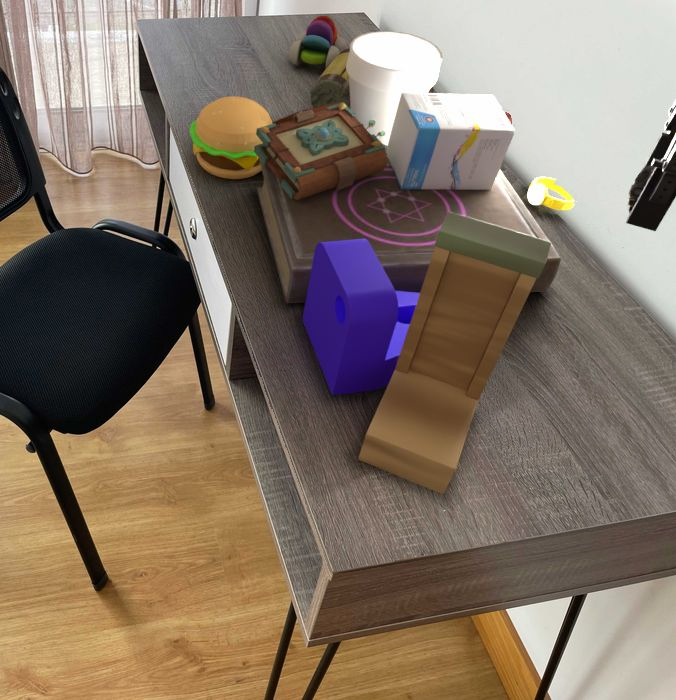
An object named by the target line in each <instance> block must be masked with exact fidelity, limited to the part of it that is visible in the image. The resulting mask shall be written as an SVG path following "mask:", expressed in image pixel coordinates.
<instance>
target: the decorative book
mask: <svg viewBox="0 0 676 700" xmlns="http://www.w3.org/2000/svg"><path fill="white" fill-rule="evenodd" d="M299 111H300V112H299V113H297V114H294V116H293V120H290V121H287V122H284V123H280V124H277V125H276V124H275V123H273V124H270V125H267V126H264V127H260V128H257V132H256V135H257V136H258V137H259V139H260V140H261V141H262V142H263V143H262V144H259V145H256V146H255V147H254V152H255V154H256V155H257V156H258V157H259V159H260V160H261V161H262V162H263V164H264V165H266V164H267V166H268V167H269V168H270V169H271V171H272V172H273V173H274V174H275V176H276V177H277V178H278V180H279V181H280V182H281V187H282V188H283V189H284V190H285V192H286V193H287V194H288V196H289V197H290V198H291V199H296V200H299V199H302V198H305V197H308V196H311V195H314V194H317V193H320V192H322V191H325V190H328V189H331V190H334V191H337V190H340V189H343V188H346V187H349V186H351V185H353V182H354V180H357V179H360V178H363V177H366V176H369V175H372V174H375V173H378V172H380V171H383V170H384V169H385V167H386V165H387V155H386V152H385V146H384V145H383V144H382V143H381V142H380V141H379V140H378V139H377V136H384V135H385V134H386V133H385V132H384V131H381V132H379V133H378V134H377V135H376V136H375V135H374V134H373V135H371V134H370V133H369V132H368V131H367V128H369V127H373V126H374V125H375V123H376V122H375V121H374V120H369V126H368V127H367V128H366V129H365V128H364V127H363V124H361V123H360V122H359V121H358V120H357V119H356V118H355V114H354V113H353V112H352V111H351V108H350V106H349V107H348V106H347V105H346V104H345V103H344V102H342V103H339V104H336V105H333V106H329V107H327V109H326V110H323V111H320V112H316V113H314V112H313V111H312V110H307V111H304V112H302V110H299Z"/></svg>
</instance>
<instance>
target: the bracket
mask: <svg viewBox="0 0 676 700" xmlns="http://www.w3.org/2000/svg"><path fill="white" fill-rule="evenodd" d="M419 295H420V293H415V292H404V291H395V289H394V287H393V285H392V283H391V282H390V280H389V278H388V276H387V274H386V272H385V271H384V269H383V267H382V265H381V263H380V261H379V260H378V258H377V256H376V254H375V252H374V250H373V248H372V247H371V245H370V243H369V241H368V240H367V239H354V240H343V241H332V242H321V243H318V244H317V245H316V248H315V252H314V258H313V264H312V269H311V275H310V281H309V286H308V292H307V297H306V302H304V309H303V316H302V322H303V325H304V328H305V330H306V332H307V335H308V338H309V339H310V344H311V345H312V348H313V350H314V353H315V356H316V357H317V360H318V363H319V365H320V368H321V370H322V373H323V376H324V378H325V381H326V383H327V385H328V388H329V391H330V393H331V395H332V396H338V395H346V394H354V393H361V392H371V391H376V390H379V389H382V388H383V387H387V386H388V384H389V382H390V379H391V377H392V375H393V373H394V371H395V368H396V365H397V362H398V359H399V356H400V353H401V349H402V346H403V343H404V340H405V337H406V334H407V331H408V328H409V325H410V322H411V319H412V316H413V313H414V310H415V307H416V304H417V301H418V298H419Z"/></svg>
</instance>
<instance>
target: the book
mask: <svg viewBox="0 0 676 700" xmlns="http://www.w3.org/2000/svg"><path fill="white" fill-rule="evenodd" d="M260 165H261V169H262V171H261V172H262V176H263V184H262V187H257V188H256V192H257V197H258V200H259V204H260V209H261V213H262V216H263V218H264V224H265V227H266V231H267V235H268V239H269V242H270V246H271V250H272V254H273V257H274V258H273V259H274V262H275V265H276V270H277V273H278V277H279V281H280V285H281V290H282V293H283V296H284V300H285V303H286V304H299V303H300V304H301V303H306V297H307V292H308V286H309V281H310V275H311V269H312V264H313V258H314V252H315V248H316V245H317V244H318V243H321V242H332V241H343V240H354V239H367V240H368V241H369V243H370V245H371V247H372V248H373V250H374V252H375V254H376V256H377V258H378V260H379V261H380V263H381V265H382V267H383V269H384V271H385V272H386V274H387V276H388V278H389V280H390V282H391V283H392V285H393V287H394V289H395V291H404V292H415V293H420V292H421V289H422V286H423V283H424V280H425V277H426V274H427V271H428V268H429V265H430V262H431V258H432V255H433V252H434V249H435V246H434V245H435V242H436V239H437V235H438V232H439V230H440V228H441V226H442V224H443V222H444V220H445V217H446V215H447V213H448V212H453V213H456V214H459V215H463V216H466V217H469V218H473V219H476V220H479V221H483V222H486V223H489V224H493V225H496V226H499V227H503V228H506V229H510V230H513V231H516V232H520V233H523V234H526V235H530V236H533V237H536V238H540V239H543V240H546V241H550V239H549V238H548V237H547V235H546V234H545V233H544V231H543V229H542V228H541V227H540V225H539V223H538V222H537V221H536V219H535V218H534V216H533V214H531V212H530V211H529V209H528V208H527V206H526V205H525V203H524V202H523V200H522V199H521V198H520V196H519V194H518V193H517V191H516V190H515V189H514V187H513V186H512V185H511V183H510V181H509V180H508V179H507V177H506V176H505V174H504V173H503V171H502V170H501V168H500V169H499V172H498V174H497V176H496V179H495V181H494V184H493V186H492V189H491V190H446V189H401V188H400V186H399V183H398V180H397V178H396V176H395V173H394V170H393V168H392V166H391V163H390V160H389V158H388V156H387V165H386V167H385V169H384V170H383V171H380V172H378V173H375V174H372V175H369V176H366V177H363V178H360V179H357V180H354V182H353V185H351V186H349V187H346V188H343V189H340V190H337V191H334V190H331V189H328V190H325V191H322V192H320V193H317V194H314V195H311V196H308V197H305V198H302V199H299V200H296V199H291V198H290V197H289V196H288V194H287V193H286V192H285V190H284V189H283V188H282V187H281V182H280V181H279V180H278V178H277V177H276V176H275V174H274V173H273V172H272V171H271V169H270V168H269V167H268V166H267V164H266V165H264V164H263V162H262V161H261V160H260ZM561 260H562V257H561V255H560V254H559V253H558V251H557V250H556V248H555V247H554V245H553V244H552V243H551V247H550V250H549V254H548V257H547V261H546V264H545V266H544V268H543V270H542V272H541V274H540V277H539V278H538V279H537V278H536V280H535V282H534V285H533V287H532V289H531V291H530V293H538V292H539V293H541V292H546V291H547V290H548V288H550V286H551V285H552V284H553V282H554V281H555V278H556V276H557V274H558V272H559V268H560V265H561Z"/></svg>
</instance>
